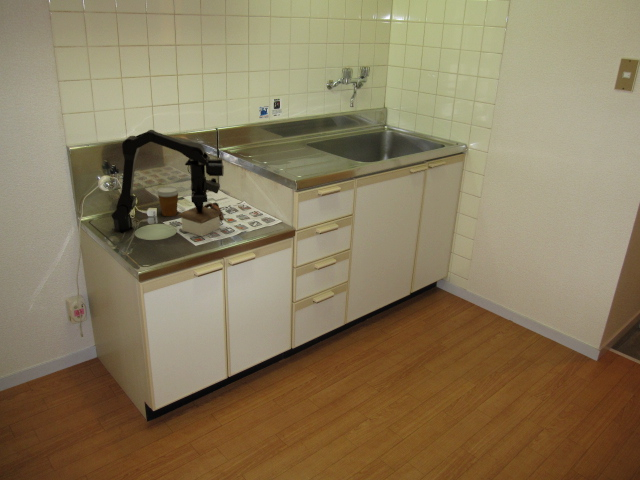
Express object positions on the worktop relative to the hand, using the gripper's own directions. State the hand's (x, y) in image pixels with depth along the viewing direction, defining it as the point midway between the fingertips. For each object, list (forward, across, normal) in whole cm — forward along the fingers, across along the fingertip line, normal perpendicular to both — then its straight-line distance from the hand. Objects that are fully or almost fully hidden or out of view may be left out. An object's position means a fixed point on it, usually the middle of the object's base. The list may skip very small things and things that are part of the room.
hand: (200, 211), depth 227 cm
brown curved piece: (+9, +13, -6) cm, 17 cm away
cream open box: (+8, 0, 0) cm, 9 cm away
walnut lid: (+2, 0, 0) cm, 2 cm away
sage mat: (+8, 0, +18) cm, 20 cm away
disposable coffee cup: (+9, +20, +13) cm, 26 cm away
